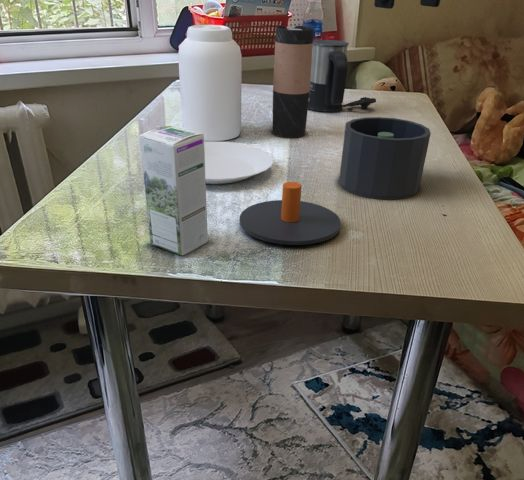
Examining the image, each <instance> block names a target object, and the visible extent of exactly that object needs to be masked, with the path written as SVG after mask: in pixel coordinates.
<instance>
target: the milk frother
mask: <svg viewBox="0 0 524 480" xmlns="http://www.w3.org/2000/svg"><path fill="white" fill-rule="evenodd" d="M349 45H350V43H349V42H347V41H343V40H334V39H333V40H332V39H315V40H314V39H313V48H312V63H311V78H310V91H309V102H308V110H311V111H316V112H339V111H341V110H342V109H343V108H347V107H357V106H360V108H361V109H367V108H368V107H369V106H371V104H374V103H375V104H376V102H377V98H375V97H371V98H370V97H367V96H363V97H360V98H359V99H358V100H353V101H351V102H349V103H345V104H343V103H344V97H345V92H346V91H345V90H346V84H347V76H348V71H349V70H348V69H349V63H348V57H347V54H348V46H349Z"/></svg>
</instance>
